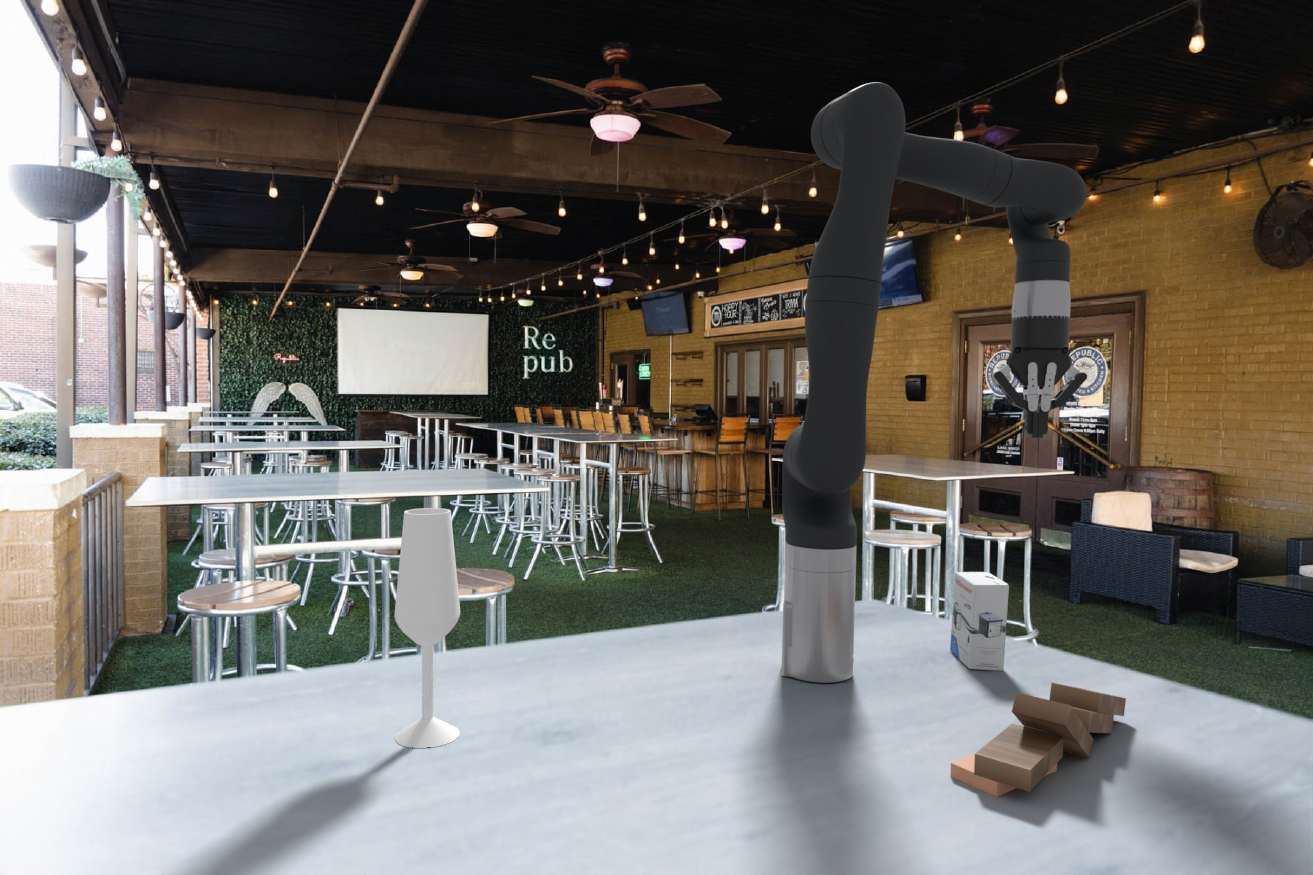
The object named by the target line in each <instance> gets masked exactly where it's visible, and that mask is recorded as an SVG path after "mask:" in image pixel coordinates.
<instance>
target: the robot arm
mask: <svg viewBox="0 0 1313 875" xmlns="http://www.w3.org/2000/svg"><path fill="white" fill-rule="evenodd" d="M810 138H811V139H810V141H811V144H812V148H813V149H814V151H815V154H816V155H817V157H818V158H819V159H820V160H821V161H822V162H823V163H824V164H825V165H827V166H829V167H831V168H833V169H836V170H840V177H839V184H838V190H837V196H836V200H835V203H834V206H833V208H832V211H831V213H830V215H829V218H828V220H827V223H826V224H825V227H824V229H823V232H822V234H821V236H820V238H819V241H817V242H818V243H817V245H816V248H815V250H814V253H813V256H812V258H811V262H810V265H809V272H808V277H807V287H806V295H805V306H804V332H805V342H806V350H807V351H806V352H807V360H808V368H809V388H808V396H807V402H806V408H805V414H804V418H803V419H804V420H803V423H802V424H801V425H799V426H797V427H796V428H795V429H794V430H793V431H792V432H791V433H790V434H789V436H788V438H787V440H786V441H785V445H784V448H783V453H782V454H783V455H782V477H781V478H782V481H781V482H782V485H781V486H782V488H781V489H782V499H781V500H782V501H781V502H782V504H781V505H782V519H783V523H784V524H783V525H784V532H785V533H784V534H785V536H784V537H785V538H784V539H785V540H784V541H785V543H784V544H785V545H784V546H785V548H784V578H783V579H784V581H783V582H784V583H783V584H784V586H783V605H782V633H781V634H782V635H781V636H782V638H781V639H782V640H781V641H782V643H781V676H783V677H788V678H789V677H790V678H793V679H797V680H801V681H805V682H810V683H811V682H812V683H827V684H828V683H838V682H839V683H840V682H843V681H847V680H849V679H851V678H852V677H853V675H854V661H855V657H854V646H855V619H856V618H855V615H856V614H855V612H856V611H855V608H856V580H857V579H856V576H857V542H858V540H857V538H858V528H857V523H856V520H855V518H854V514H853V511H852V503H851V501H852V500H851V498H852V497H851V488H852V487H853V486H855V485H856V484H857V483H858V481H859V480H860V477H861V476H862V473H863V470H864V467H865V466H866V457H867V396H868V395H867V393H868V384H869V382H868V381H869V375H870V369H871V366H872V365H871V363H872V358H873V352H874V345H875V343H874V342H875V336H876V335H875V334H876V326H877V321H878V315H879V307H880V302H881V300H880V298H881V292H882V290H881V289H882V283H883V282H882V281H883V268H884V267H883V266H884V258H885V257H884V255H885V250H886V242H887V234H888V226H889V218H890V211H891V210H890V208H891V203H892V202H891V201H892V196H893V192H894V187H895V183H896V180H901V181H906V182H910V183H913V184H918V185H922V186H926V187H928V188H933V189H936V190H938V191H942V192H945V193H948V194H951V195H955V196H956V197H960V198H963V199H966V200H969V201H972V202H974V203H978V204H980V205H983V206H987V207H991V208H1005V210H1006V211H1005V212H1006V213H1005V214H1006V220H1007V223H1008V227H1009V231H1010V236H1011V240H1012V241H1011V242H1012V244H1013V247H1014V252H1015V255H1016V257H1015V258H1016V260H1015V278H1014V280H1015V281H1014V284H1015V285H1014V290H1013V291H1014V292H1013V297H1012V306H1011V311H1010V312H1011V331H1010V332H1011V333H1010V354H1009V356H1008V357H1007V359H1006V364H1005V365H1004V366H1003V367H1001V368H999V369H998V370H997V371H993V372H992V373H991V374H990V378H991V379H992V381H993V382H994V383H995V385H996V386H997V387H998V388H999V390H1000V391H1001V392H1002V393H1003V394H1004V396H1005V398H1007V400H1008V401H1009V403H1010V404H1011V405H1012V406H1013V407H1017V408H1019V409H1022V410H1023V411H1024V422H1023V423H1024V424H1023V426H1024V427H1023V429H1024V430H1023V431H1024V434H1027V435H1028V438H1030V439H1043V438H1044V435H1047V433H1048V431H1049V428H1048V427H1049V413H1050V412H1051V411H1052V410H1054V409H1058V408H1062V407H1063V406H1064V405H1065V403H1067V402H1068V401H1069V399H1070V398H1071V397H1072V396H1073V395H1074V394H1075V393H1076V392H1077V390H1079V388H1080V387H1081V386H1082V385H1083V384H1084V382H1086V380H1087V379H1088V374H1087V373H1086V372H1082V371H1080V370H1078V368H1076V367H1075V366H1074V365H1073V360H1072V357H1071V356H1070V353H1069V350H1070V349H1069V348H1070V327H1071V326H1070V322H1071V304H1072V303H1071V302H1072V301H1071V300H1072V299H1071V298H1072V297H1071V290H1070V279H1071V278H1070V276H1071V275H1070V274H1071V247H1070V245H1069V243H1067V242H1066V240H1065V241H1064V240H1062V239H1056V238H1052V237H1051V233H1050V230H1049V224H1050V223H1053V222H1059V221H1063V220H1066V219H1068V218H1069V219H1070V217H1073V216H1075V215H1076V214H1077V213H1078V212H1079V211H1080V210H1081V209H1082V208H1083V206H1084V204H1085V202H1086V200H1087V194H1088V192H1087V187H1086V183H1085V180H1084V179H1083V178H1082V176H1081V175H1080V174H1079V173H1078V172H1077V171H1075V170H1074V169H1072V168H1071V167H1069V166H1066V165H1064V164H1059V163H1057V162H1051V161H1044V160H1043V161H1042V160H1037V159H1027V158H1020V157H1019V158H1018V157H1014V156H1013V155H1012V156H1011V155H1010V154H1008V153H1005V152H1003V151H1002V152H1001V151H999V150H996V149H994V148H991V147H989V146H985V145H983V144H979V143H975V142H973V141H972V142H971V141H965V140H960V139H959V140H958V139H954V138H953V139H952V138H951V139H949V138H943V137H942V138H941V137H933V136H924V135H919V134H914V133H909V132H906V113H905V109H904V104H903V101H902V99H901V98H900V95H899V94H898V92H896V90H895V89H893V87H891V86H890V85H888V84H886V83H883V82H877V81H875V82H873V81H872V82H869V83H865V84H862V85H859V86H857V87H855V88H853V89H851V90H850V91H847V92H846V93H845V94H842V95H841V96H838V97H837V98H835V99H833V100H831V101H830V102H828V104H826V105H825V106H823V107H822V108H821V109H820V110H819V112H818V113H817V114H816V115H815V117H814V119H813V122H812V124H811V128H810ZM1011 373H1012V375H1011ZM1065 374H1066V376H1065ZM1012 376H1013V377H1014V378H1015V379H1016V380H1017V382H1018V383H1019V385H1020V386H1022V395H1023V397H1022V396H1021V395H1020V394H1019V392H1018V391H1017V390H1016V388H1015V387H1014V386H1013V384H1012V383H1011V382H1010V381H1011V380H1012ZM1064 376H1065V378H1064V381H1065V382H1066V383H1065V384H1064V385H1063V386H1062V387H1061V388H1060V389H1059V391H1058V392H1057V393H1056V394H1055V395H1054V396H1053V394H1054V387H1055V386H1056V385H1057V384H1058V383H1059V382H1060V380H1062V378H1063V377H1064ZM1052 396H1053V397H1052Z"/></svg>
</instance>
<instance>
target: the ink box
mask: <svg viewBox="0 0 1313 875" xmlns="http://www.w3.org/2000/svg"><path fill="white" fill-rule="evenodd" d="M953 577H954V580H953V596H952V597H953V598H952V614H951V615H952V616H951V630H950V632H951V634H950V652H951V653H953V655H954V656H955V657H957V659H958V660H960V662H962V663H963V665H965V667H966V668H968V669H969V670H981V671H982V670H983V671H1001V672H1002V671H1004V669H1005V668H1004V667H1005V653H1006V652H1005V651H1006V638H1007V637H1006V636H1007V634H1006V633H1007V621H1008V620H1007V619H1008V606H1009V593H1010V592H1009V591H1010V586H1009V583H1007V582H1005V581H1004V580H1001V579H1000V578H999V577H997V576H995V575H994V574H992V573H991V572H988V571H954V576H953Z"/></svg>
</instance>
